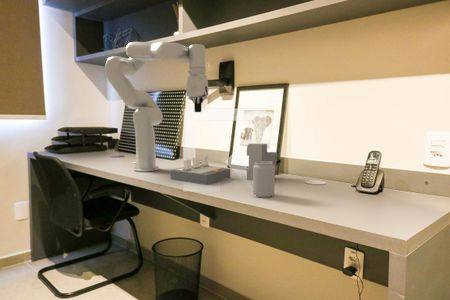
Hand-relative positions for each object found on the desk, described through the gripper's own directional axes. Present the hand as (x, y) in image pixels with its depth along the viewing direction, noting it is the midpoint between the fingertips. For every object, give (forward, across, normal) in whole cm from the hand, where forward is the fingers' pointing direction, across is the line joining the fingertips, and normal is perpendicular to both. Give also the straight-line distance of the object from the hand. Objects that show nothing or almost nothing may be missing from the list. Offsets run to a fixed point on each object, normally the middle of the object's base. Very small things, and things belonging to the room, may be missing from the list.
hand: (198, 112), depth 154 cm
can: (+29, +46, -20) cm, 58 cm away
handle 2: (+24, +6, -4) cm, 26 cm away
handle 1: (+24, +6, -16) cm, 30 cm away
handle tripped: (+24, +6, -10) cm, 27 cm away
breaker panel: (+29, +9, -10) cm, 32 cm away
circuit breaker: (+29, +32, +6) cm, 44 cm away
